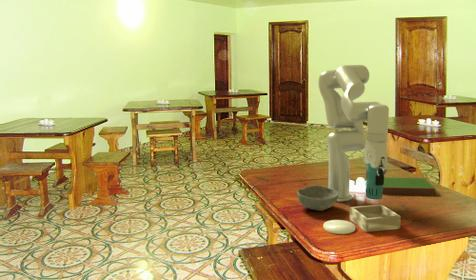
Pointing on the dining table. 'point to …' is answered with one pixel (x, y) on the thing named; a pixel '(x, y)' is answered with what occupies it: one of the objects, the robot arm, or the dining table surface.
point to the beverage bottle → (373, 184)
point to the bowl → (317, 197)
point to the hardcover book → (407, 186)
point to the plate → (339, 227)
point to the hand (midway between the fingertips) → (374, 181)
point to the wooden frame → (374, 218)
